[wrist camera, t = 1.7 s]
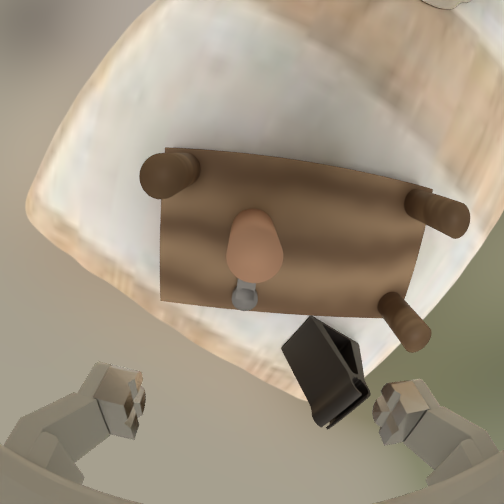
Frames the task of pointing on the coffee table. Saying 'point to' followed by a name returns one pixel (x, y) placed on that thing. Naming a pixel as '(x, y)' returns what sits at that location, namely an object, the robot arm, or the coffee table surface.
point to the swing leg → (252, 255)
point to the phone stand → (327, 370)
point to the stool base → (297, 234)
